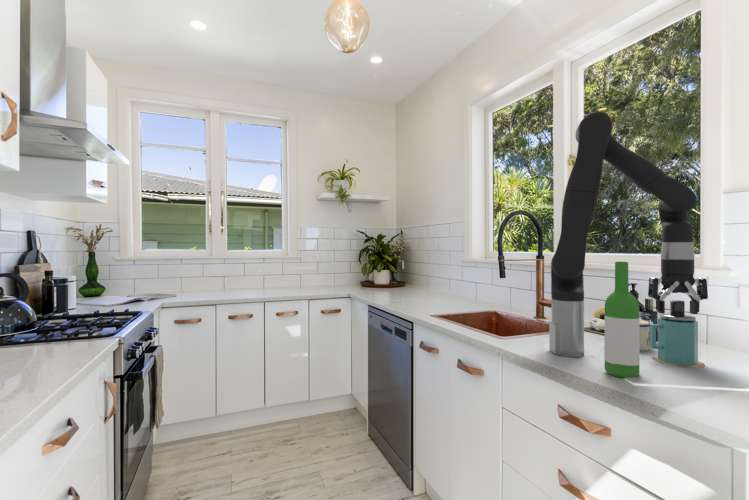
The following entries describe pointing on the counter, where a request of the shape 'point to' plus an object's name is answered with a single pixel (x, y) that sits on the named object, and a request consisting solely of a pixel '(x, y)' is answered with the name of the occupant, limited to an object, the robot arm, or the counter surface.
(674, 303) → the knob on metal rod
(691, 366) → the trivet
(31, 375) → the counter surface
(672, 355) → the press pot
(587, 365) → the counter surface
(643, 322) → the teacup with lid
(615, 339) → the wine bottle
